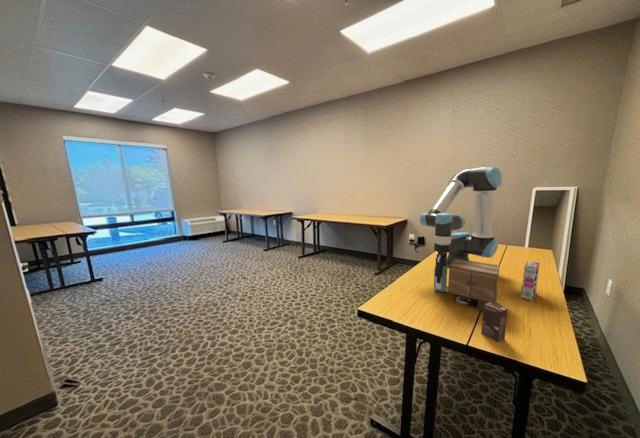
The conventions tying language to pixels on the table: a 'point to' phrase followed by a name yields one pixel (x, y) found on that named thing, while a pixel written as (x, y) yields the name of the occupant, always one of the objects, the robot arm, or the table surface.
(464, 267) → the wooden cabinet
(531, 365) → the table surface
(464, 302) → the disc
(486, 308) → the box
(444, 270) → the tool
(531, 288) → the candy bar box
